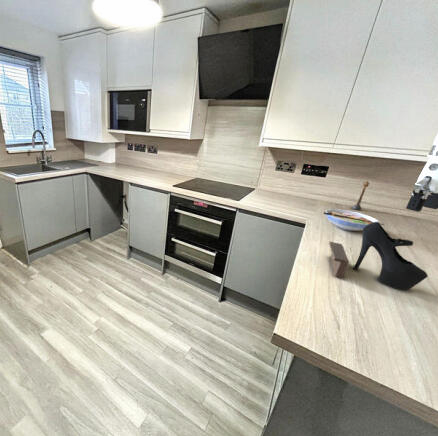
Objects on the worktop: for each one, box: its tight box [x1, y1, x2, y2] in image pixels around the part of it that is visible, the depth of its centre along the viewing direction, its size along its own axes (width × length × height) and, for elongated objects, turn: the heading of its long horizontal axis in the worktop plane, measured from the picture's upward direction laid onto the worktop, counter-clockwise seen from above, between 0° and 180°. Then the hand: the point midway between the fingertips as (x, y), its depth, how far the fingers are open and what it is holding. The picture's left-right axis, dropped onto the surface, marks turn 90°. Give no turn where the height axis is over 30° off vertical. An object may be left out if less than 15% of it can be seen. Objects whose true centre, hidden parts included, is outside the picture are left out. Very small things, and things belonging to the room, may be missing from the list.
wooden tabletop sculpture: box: [351, 180, 370, 211], centre depth 162 cm, size 6×5×20 cm
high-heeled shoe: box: [352, 222, 428, 291], centre depth 81 cm, size 8×19×20 cm, turn 36°
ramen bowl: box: [323, 208, 386, 232], centre depth 129 cm, size 25×23×8 cm
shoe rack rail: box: [328, 241, 350, 279], centre depth 90 cm, size 4×16×7 cm, turn 149°
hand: (421, 209), depth 74 cm, fingers open, 9 cm apart
